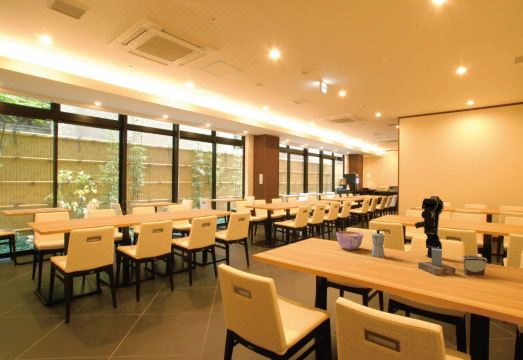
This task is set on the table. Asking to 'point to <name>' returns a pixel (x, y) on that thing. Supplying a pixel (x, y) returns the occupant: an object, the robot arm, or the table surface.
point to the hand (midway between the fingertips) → (429, 242)
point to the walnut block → (436, 268)
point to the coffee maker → (378, 245)
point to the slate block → (437, 257)
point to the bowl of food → (349, 239)
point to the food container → (474, 265)
